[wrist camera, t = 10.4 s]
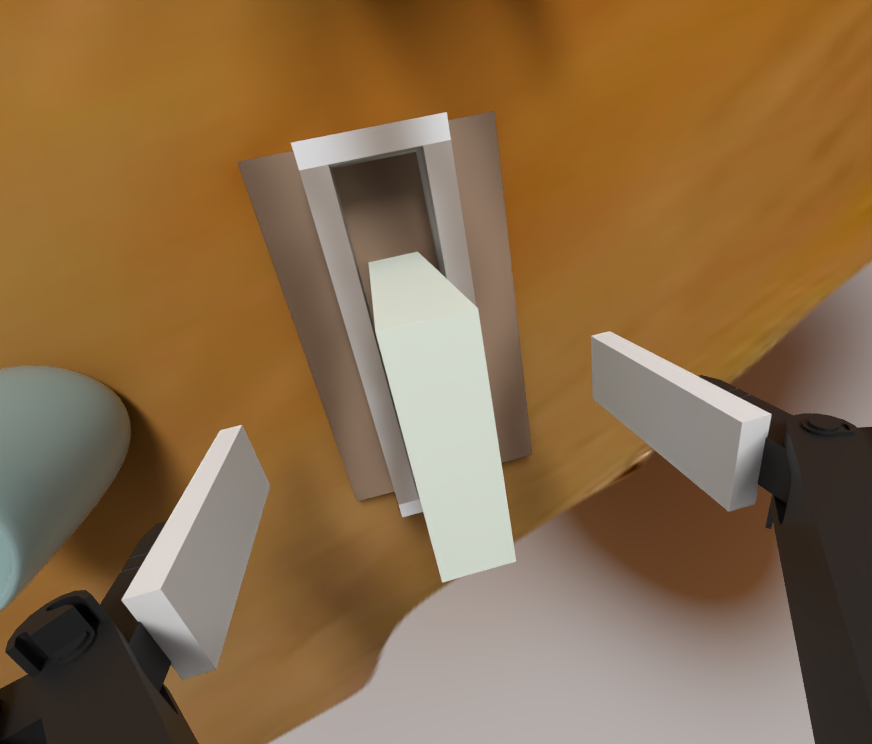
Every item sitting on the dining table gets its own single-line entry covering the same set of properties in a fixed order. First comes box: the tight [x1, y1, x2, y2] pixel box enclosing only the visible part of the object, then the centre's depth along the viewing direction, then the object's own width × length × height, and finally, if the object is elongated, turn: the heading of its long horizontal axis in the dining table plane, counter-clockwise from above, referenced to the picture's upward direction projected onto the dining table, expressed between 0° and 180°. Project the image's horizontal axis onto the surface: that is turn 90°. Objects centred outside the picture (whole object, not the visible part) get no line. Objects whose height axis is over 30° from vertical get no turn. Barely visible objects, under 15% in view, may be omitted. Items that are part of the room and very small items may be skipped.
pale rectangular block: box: [368, 252, 516, 583], centre depth 17 cm, size 3×9×12 cm, turn 11°
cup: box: [0, 365, 131, 612], centre depth 18 cm, size 8×8×10 cm
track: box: [238, 111, 532, 517], centre depth 22 cm, size 12×20×4 cm, turn 11°
